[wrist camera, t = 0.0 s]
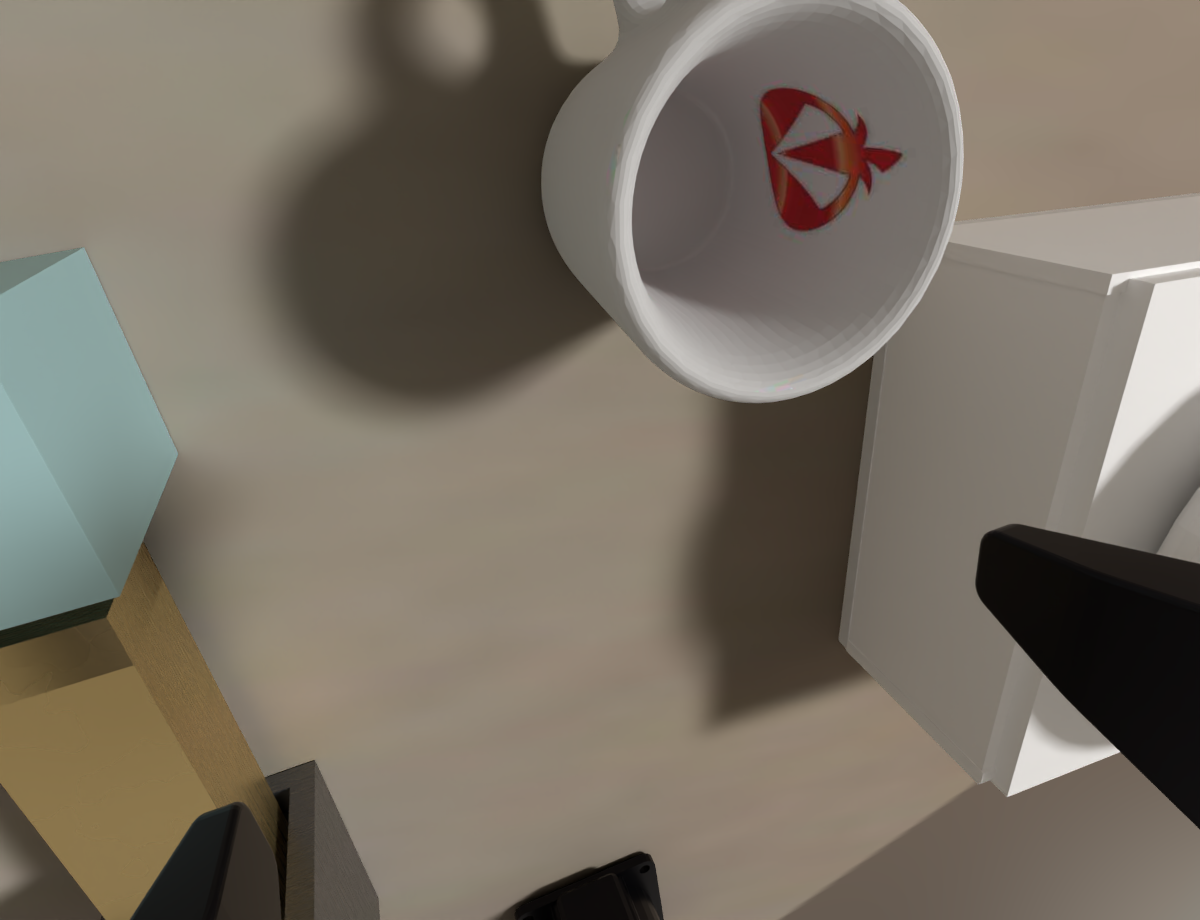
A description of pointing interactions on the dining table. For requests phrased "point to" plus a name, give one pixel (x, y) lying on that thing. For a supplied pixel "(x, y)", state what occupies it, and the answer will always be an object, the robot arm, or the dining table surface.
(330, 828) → the sleeve
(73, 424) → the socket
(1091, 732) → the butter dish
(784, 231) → the cup
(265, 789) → the peg
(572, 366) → the dining table surface
